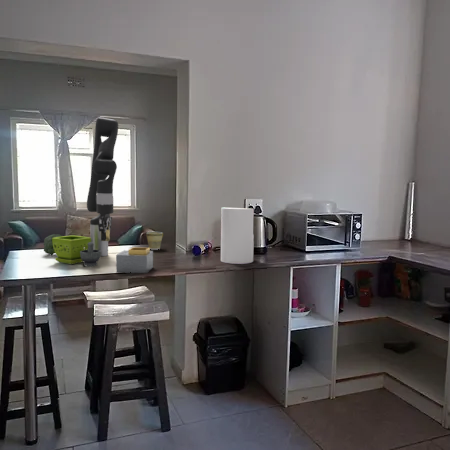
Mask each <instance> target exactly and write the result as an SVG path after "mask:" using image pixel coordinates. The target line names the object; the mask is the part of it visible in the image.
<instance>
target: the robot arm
mask: <svg viewBox="0 0 450 450" xmlns="http://www.w3.org/2000/svg"><path fill="white" fill-rule="evenodd" d="M118 133H119V123H118V121H117V120H115V119H111V118H106V117H98V118H97V119H96V122H95V129H94V149H93V155H92V162H91V171H90V182H89V183H90V184H89V188H88V194H87V198H86V199H87V200H86V208H87V211H88V212H89V213H90V212H91V213H97V214H98V215H97V216H95V217H92V218H91V219H90V220H89V221H90V222H89V223H90V224H89V226H90V232H89V233H90V238H91V242H92V243H94V245H93V250H100V251H101V255H100V257H106V256H108V255H109V241H101V240H106V229H108V230H110V231H111V229H112V225H113V224H112V221H113V217H112V216H111V214H113V213H114V195H113V194H114V192H113V191H114V179H115V175H116V173H117V168H118V167H117V162H116V161H115V160H114V155H115V153H114V151H115V146H116V143H117V142H116V141H117V138H118ZM102 137H105V138H106V139H105V140H103V141H102Z"/></svg>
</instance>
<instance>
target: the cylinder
mask: <svg viewBox="0 0 450 450" xmlns="http://www.w3.org/2000/svg"><path fill="white" fill-rule="evenodd" d="M220 209H221V211H220V212H221V214H220V217H221V219H220V220H221V222H220V224H221V225H220V262H222V263H226V264H232V265H234V264H237V265H238V264H239V265H240V264H241V265H243V264H250V263H253V262H254V244H255V241H254V239H255V238H254V237H255V235H254V215H255V214H254V208H249V207H247V208H246V207H245V208H243V207H224V206H223V207H221V208H220Z"/></svg>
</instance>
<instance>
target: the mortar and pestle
mask: <svg viewBox="0 0 450 450" xmlns="http://www.w3.org/2000/svg"><path fill="white" fill-rule="evenodd" d="M93 245H94V243H92V242H89V243H88V250H83V251H80V255H81V259H82V261H84V262H83V266H84V267H95V266H98V263H97V262H99V260H100V259H101V256H100V255H101V251H100V250H93Z"/></svg>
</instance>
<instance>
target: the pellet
mask: <svg viewBox="0 0 450 450" xmlns="http://www.w3.org/2000/svg"><path fill="white" fill-rule="evenodd" d="M110 233H111V229H110V230H108V229H106V240H101V241H108V242H109V241H110V239H111V237H110V236H111V234H110Z"/></svg>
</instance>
